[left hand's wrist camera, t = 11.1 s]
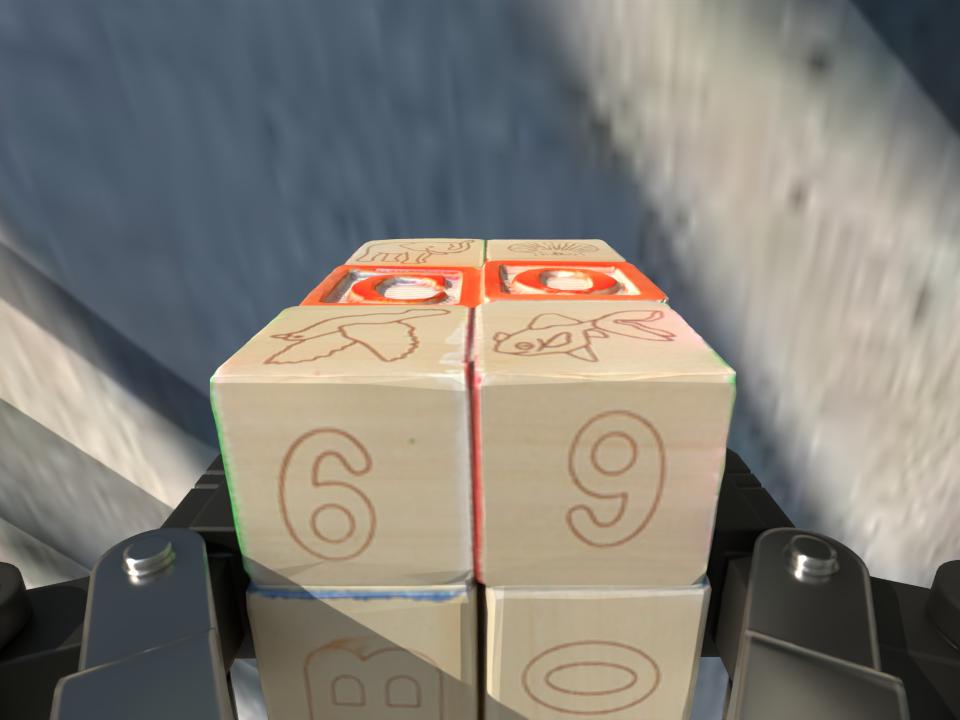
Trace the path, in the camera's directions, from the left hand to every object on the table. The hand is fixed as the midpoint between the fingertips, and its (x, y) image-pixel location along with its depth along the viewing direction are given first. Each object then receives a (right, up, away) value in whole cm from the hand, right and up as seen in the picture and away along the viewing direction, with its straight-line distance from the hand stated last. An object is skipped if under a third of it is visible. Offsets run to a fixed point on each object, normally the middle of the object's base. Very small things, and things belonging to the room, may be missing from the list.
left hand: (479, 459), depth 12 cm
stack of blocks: (0, -5, +8) cm, 9 cm away
